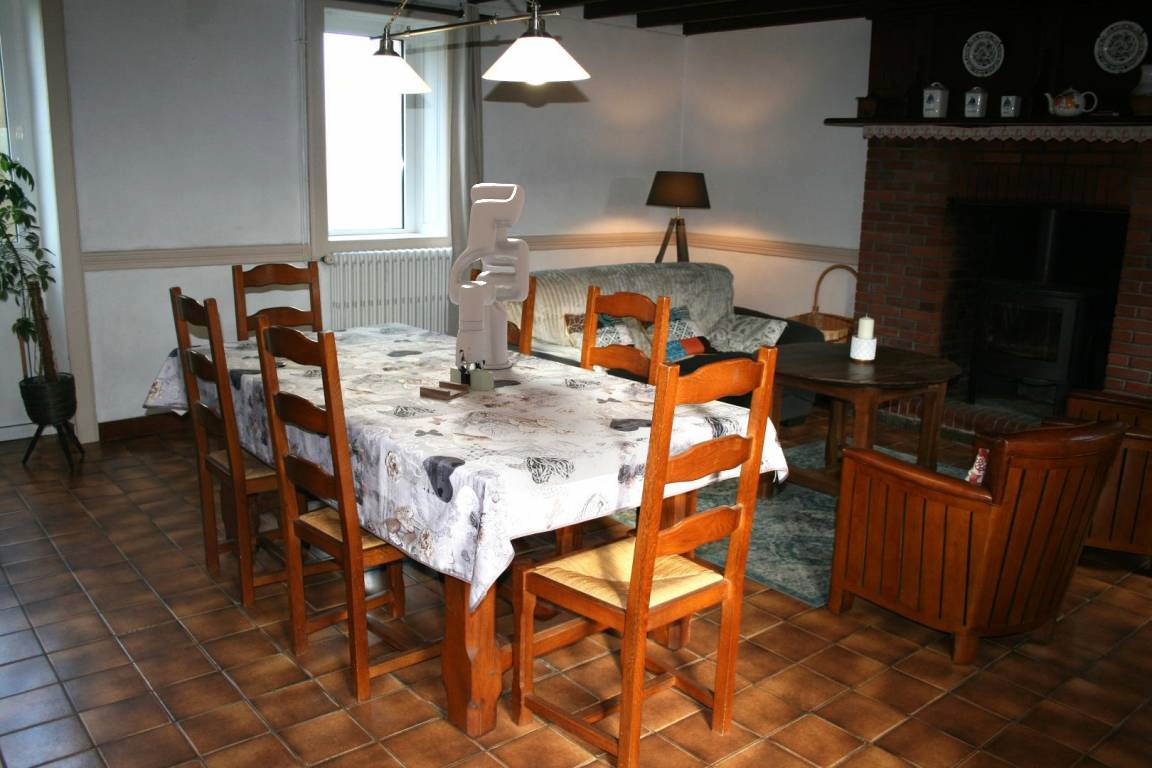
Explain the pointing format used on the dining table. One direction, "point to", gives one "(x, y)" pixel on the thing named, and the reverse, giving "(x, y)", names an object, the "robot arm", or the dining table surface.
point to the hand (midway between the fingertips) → (471, 383)
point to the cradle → (445, 390)
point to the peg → (474, 378)
